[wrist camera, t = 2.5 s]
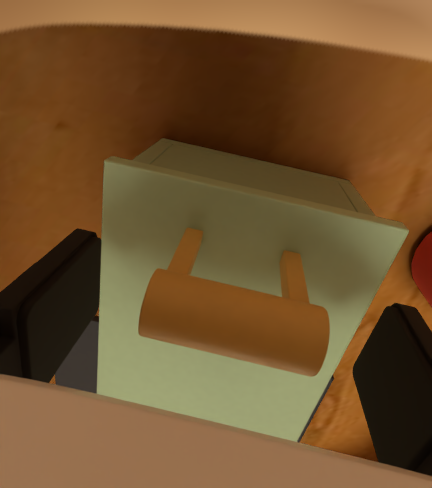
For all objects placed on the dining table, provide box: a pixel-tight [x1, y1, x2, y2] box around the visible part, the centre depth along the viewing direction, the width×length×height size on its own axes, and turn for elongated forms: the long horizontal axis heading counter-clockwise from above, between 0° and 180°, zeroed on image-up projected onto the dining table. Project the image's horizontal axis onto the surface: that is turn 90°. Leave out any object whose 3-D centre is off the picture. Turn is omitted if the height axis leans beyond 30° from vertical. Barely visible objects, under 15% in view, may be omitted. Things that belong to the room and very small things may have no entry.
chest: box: [132, 138, 375, 216], centre depth 21 cm, size 14×12×8 cm
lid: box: [97, 156, 409, 442], centre depth 14 cm, size 15×12×6 cm
